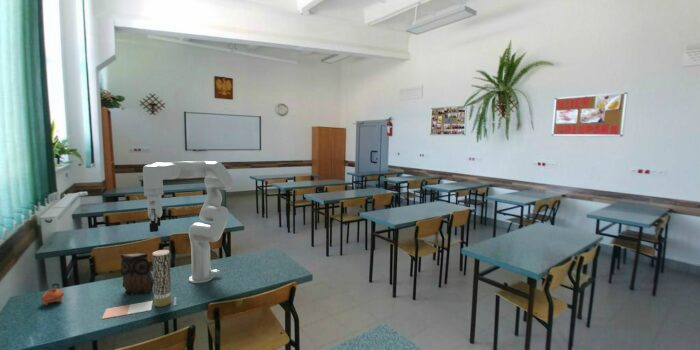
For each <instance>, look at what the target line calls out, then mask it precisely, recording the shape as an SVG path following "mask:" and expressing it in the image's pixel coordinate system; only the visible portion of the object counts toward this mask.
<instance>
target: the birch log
mask: <svg viewBox="0 0 700 350" xmlns="http://www.w3.org/2000/svg"><path fill="white" fill-rule="evenodd" d="M151 255H152V271H153V273H152V277H153V280H154V284H153V297H154V301H153V302H154V306H155V307H158V308H160V307H166V306H168V305H170V303H171V302H172V289H171V288H172V287H171V283H172V282H171V260H170V259H171V258H170V257H171V256H170V250H169V249H159V250H156V251H153V252H152V254H151Z"/></svg>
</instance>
